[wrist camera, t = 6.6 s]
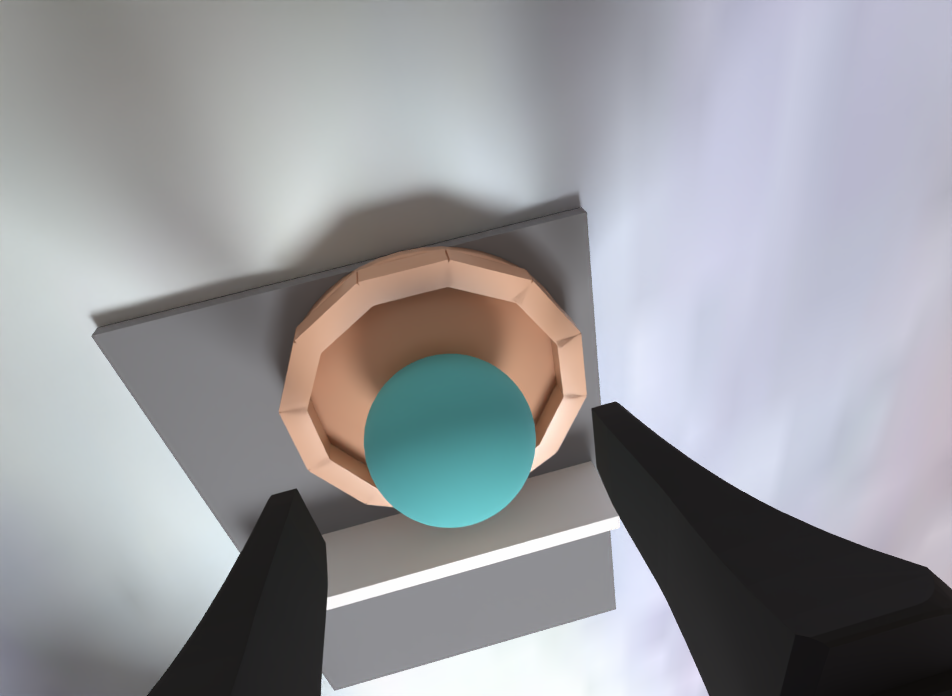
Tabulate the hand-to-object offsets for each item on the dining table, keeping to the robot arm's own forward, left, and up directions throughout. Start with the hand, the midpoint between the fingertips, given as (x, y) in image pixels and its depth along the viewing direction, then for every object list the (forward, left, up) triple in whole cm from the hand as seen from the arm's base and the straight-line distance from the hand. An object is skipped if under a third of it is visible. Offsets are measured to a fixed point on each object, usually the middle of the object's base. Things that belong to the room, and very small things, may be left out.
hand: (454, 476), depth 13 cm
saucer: (0, 0, -4) cm, 4 cm away
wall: (-5, +1, -4) cm, 7 cm away
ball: (0, 0, -4) cm, 4 cm away
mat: (-5, +1, -4) cm, 7 cm away
